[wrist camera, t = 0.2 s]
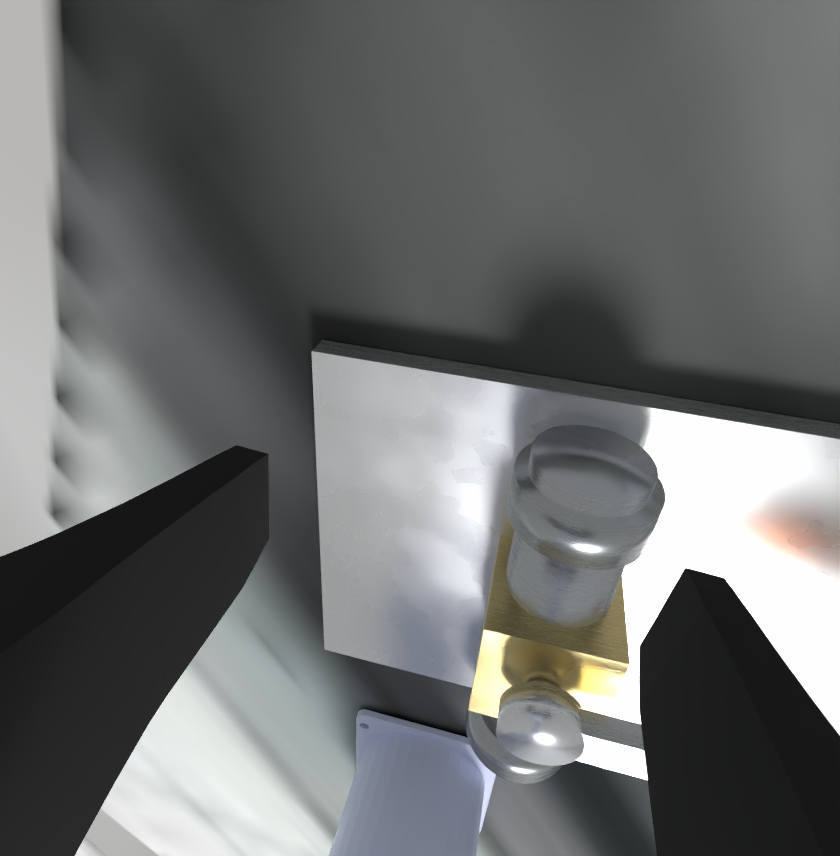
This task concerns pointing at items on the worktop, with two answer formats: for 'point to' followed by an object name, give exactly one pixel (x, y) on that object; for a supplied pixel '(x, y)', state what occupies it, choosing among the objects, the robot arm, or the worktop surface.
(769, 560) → the valve rig
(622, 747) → the lever
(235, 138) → the worktop surface
